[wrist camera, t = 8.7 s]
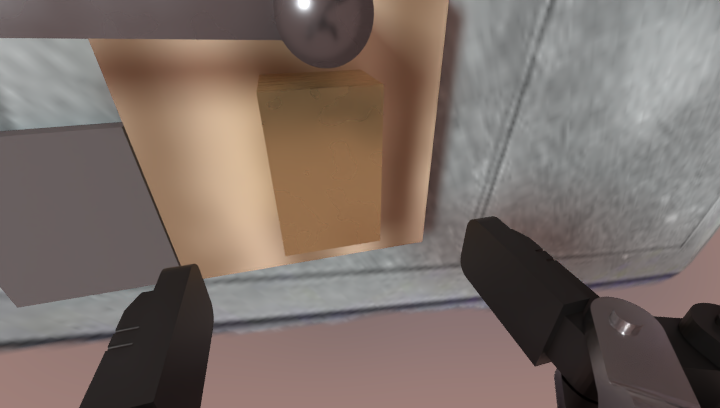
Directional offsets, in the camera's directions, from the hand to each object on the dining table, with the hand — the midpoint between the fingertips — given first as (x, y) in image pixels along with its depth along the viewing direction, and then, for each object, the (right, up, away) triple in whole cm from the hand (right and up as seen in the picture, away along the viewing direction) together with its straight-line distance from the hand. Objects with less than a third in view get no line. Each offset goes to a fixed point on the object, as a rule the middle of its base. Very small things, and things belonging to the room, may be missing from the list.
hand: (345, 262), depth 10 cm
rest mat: (-17, +1, +10) cm, 20 cm away
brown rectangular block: (-2, +5, +8) cm, 10 cm away
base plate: (-4, +6, +11) cm, 13 cm away
